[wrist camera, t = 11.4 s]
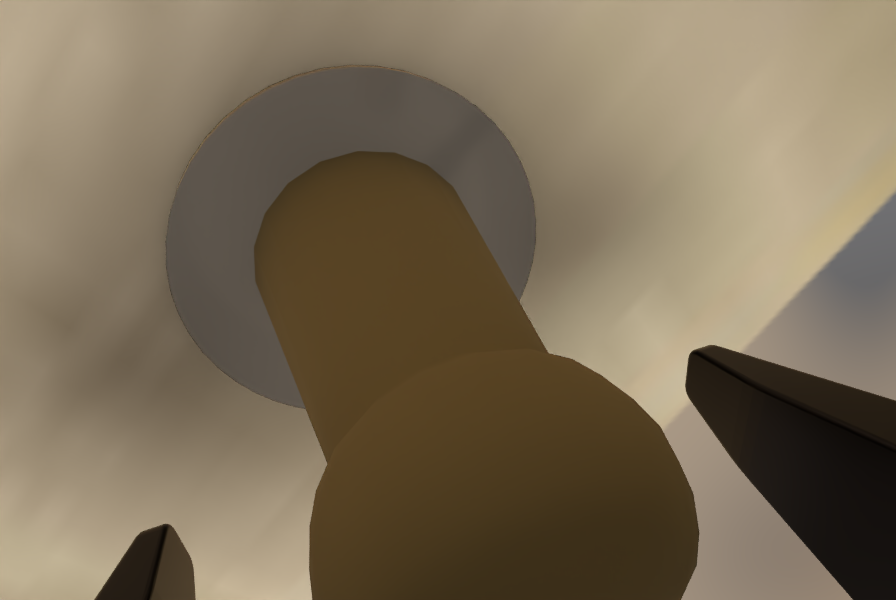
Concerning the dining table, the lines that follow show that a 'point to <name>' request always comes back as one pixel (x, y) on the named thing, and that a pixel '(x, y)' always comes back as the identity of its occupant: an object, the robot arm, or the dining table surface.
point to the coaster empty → (295, 151)
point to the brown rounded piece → (454, 410)
